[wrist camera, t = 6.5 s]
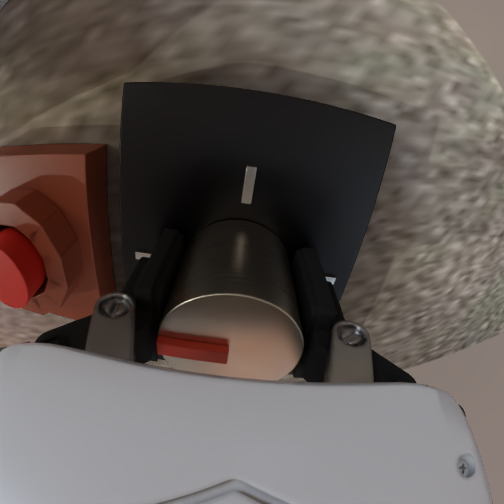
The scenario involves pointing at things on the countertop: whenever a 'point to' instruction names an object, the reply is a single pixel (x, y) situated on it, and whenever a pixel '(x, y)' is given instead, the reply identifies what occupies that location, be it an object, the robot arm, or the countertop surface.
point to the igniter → (61, 221)
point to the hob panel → (248, 169)
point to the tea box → (3, 3)
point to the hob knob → (233, 306)
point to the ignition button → (19, 268)
